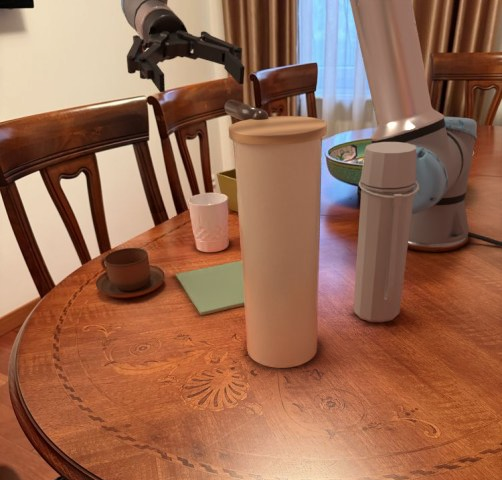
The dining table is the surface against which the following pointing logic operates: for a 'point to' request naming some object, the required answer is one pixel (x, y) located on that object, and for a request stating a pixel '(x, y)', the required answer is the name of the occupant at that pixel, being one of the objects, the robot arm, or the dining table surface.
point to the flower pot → (229, 187)
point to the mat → (214, 287)
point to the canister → (280, 249)
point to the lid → (271, 126)
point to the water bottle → (384, 228)
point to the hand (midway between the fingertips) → (203, 79)
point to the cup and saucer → (128, 274)
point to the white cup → (209, 221)
